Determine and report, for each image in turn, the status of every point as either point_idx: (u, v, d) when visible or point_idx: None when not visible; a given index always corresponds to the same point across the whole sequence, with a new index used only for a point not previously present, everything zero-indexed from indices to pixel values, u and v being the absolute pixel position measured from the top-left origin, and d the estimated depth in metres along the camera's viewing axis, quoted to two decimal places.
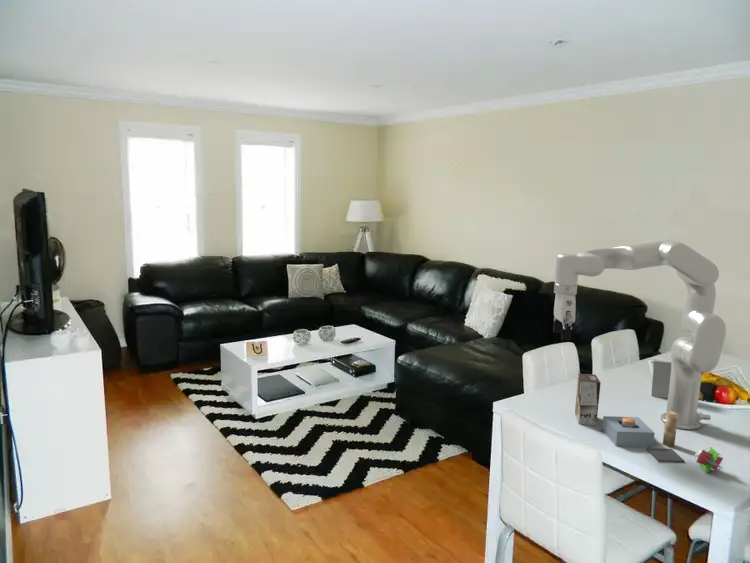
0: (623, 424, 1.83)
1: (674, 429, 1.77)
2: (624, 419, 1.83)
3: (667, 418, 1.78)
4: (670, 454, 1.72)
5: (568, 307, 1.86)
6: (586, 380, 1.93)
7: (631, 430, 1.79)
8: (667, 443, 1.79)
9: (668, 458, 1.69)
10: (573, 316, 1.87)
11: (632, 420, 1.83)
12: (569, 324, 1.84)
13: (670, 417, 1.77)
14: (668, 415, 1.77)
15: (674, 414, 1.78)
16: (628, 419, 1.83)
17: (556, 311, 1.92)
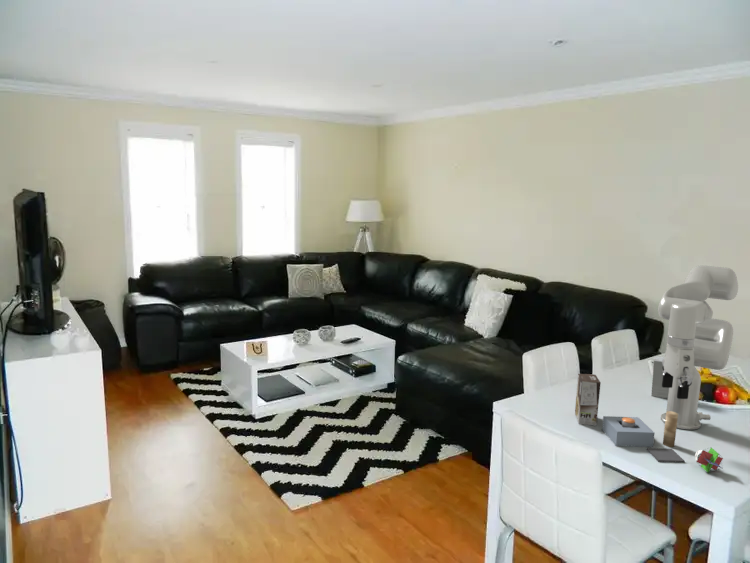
0: (623, 424, 1.83)
1: (674, 429, 1.77)
2: (624, 419, 1.83)
3: (667, 418, 1.78)
4: (670, 454, 1.72)
5: (686, 363, 1.70)
6: (586, 380, 1.93)
7: (631, 430, 1.79)
8: (667, 443, 1.79)
9: (668, 458, 1.69)
10: (691, 373, 1.70)
11: (632, 420, 1.83)
12: (688, 382, 1.68)
13: (670, 417, 1.77)
14: (668, 415, 1.77)
15: (674, 414, 1.78)
16: (628, 419, 1.83)
17: (669, 365, 1.76)
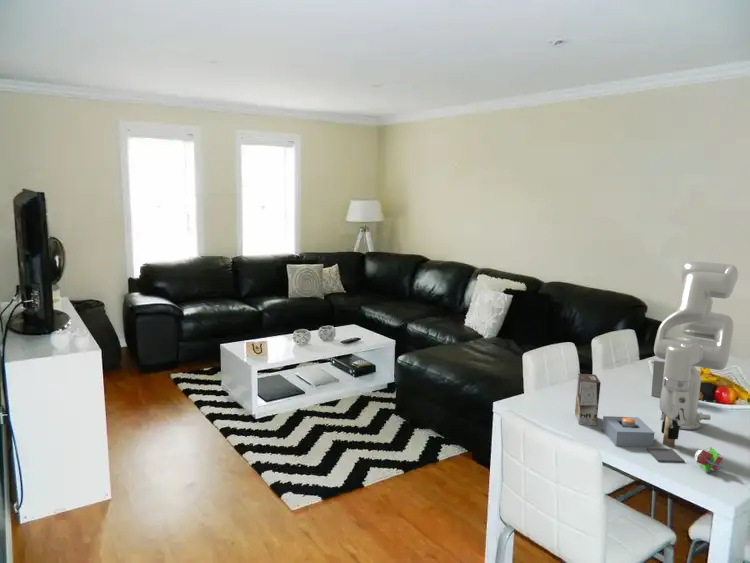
0: (623, 424, 1.83)
1: None
2: (624, 419, 1.83)
3: (667, 418, 1.78)
4: (670, 454, 1.72)
5: (681, 405, 1.72)
6: (586, 380, 1.93)
7: (631, 430, 1.79)
8: (667, 443, 1.79)
9: (668, 458, 1.69)
10: (686, 414, 1.73)
11: (632, 420, 1.83)
12: None
13: None
14: None
15: None
16: (628, 419, 1.83)
17: (664, 406, 1.78)
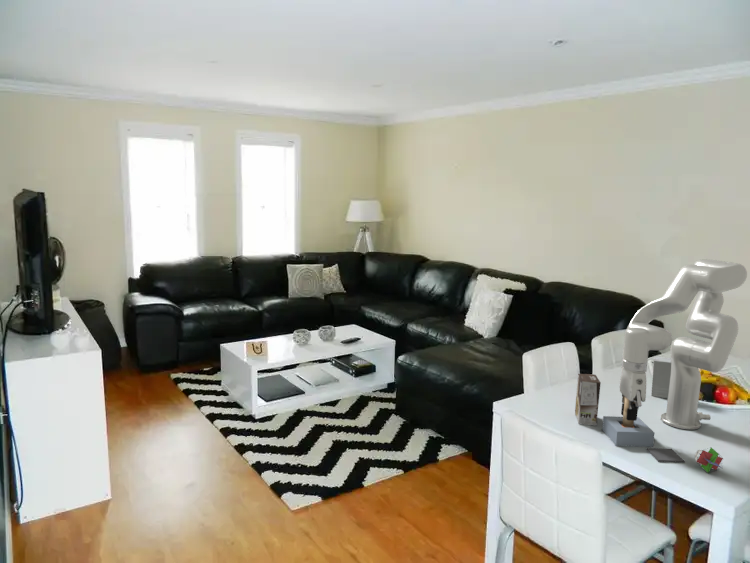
0: None
1: None
2: None
3: (626, 400, 1.81)
4: (670, 454, 1.72)
5: (639, 386, 1.76)
6: (586, 380, 1.93)
7: (631, 430, 1.79)
8: (626, 424, 1.82)
9: (668, 458, 1.69)
10: (644, 395, 1.76)
11: None
12: None
13: None
14: None
15: None
16: None
17: (623, 388, 1.82)
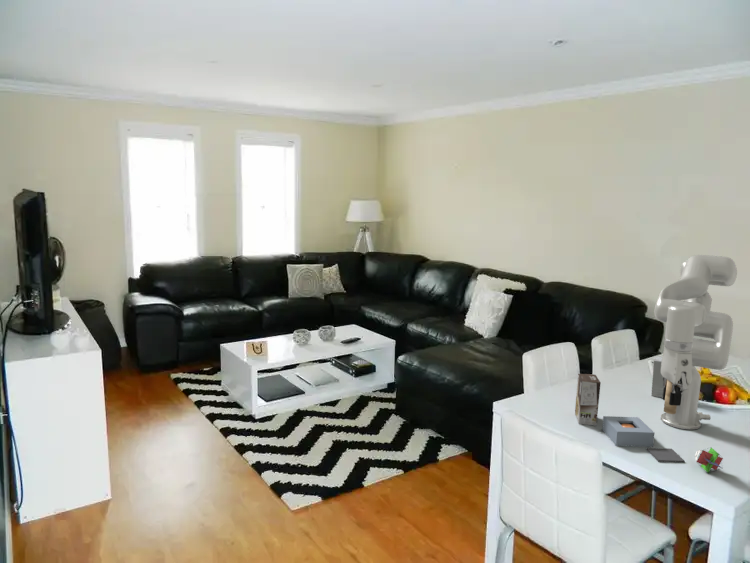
0: None
1: None
2: (623, 425, 1.84)
3: (668, 383, 1.68)
4: (670, 454, 1.72)
5: (684, 368, 1.62)
6: (586, 380, 1.93)
7: (631, 430, 1.79)
8: (668, 410, 1.68)
9: (668, 458, 1.69)
10: (689, 378, 1.62)
11: (631, 426, 1.83)
12: None
13: None
14: None
15: None
16: (628, 425, 1.84)
17: (666, 370, 1.68)
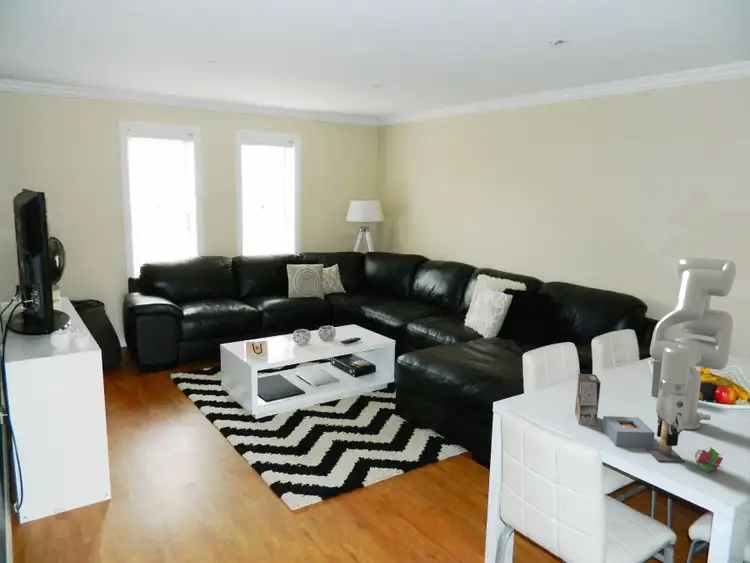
0: None
1: None
2: (623, 425, 1.84)
3: (663, 426, 1.70)
4: None
5: (679, 410, 1.64)
6: (586, 380, 1.93)
7: (631, 430, 1.79)
8: (663, 452, 1.71)
9: (668, 458, 1.69)
10: (684, 419, 1.65)
11: (631, 426, 1.83)
12: None
13: (667, 425, 1.69)
14: (664, 423, 1.70)
15: None
16: (628, 425, 1.84)
17: (661, 410, 1.70)
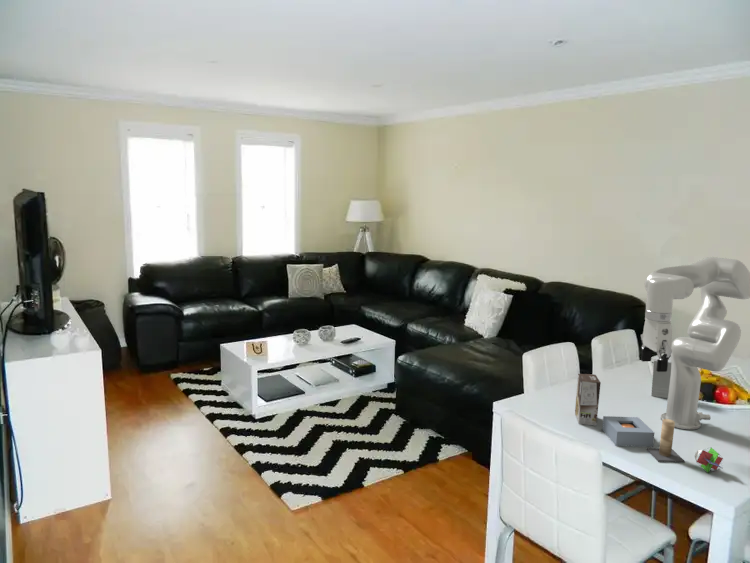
0: None
1: (670, 437, 1.70)
2: (623, 425, 1.84)
3: (663, 426, 1.70)
4: None
5: (665, 337, 1.73)
6: (586, 380, 1.93)
7: (631, 430, 1.79)
8: (663, 452, 1.71)
9: (668, 458, 1.69)
10: (670, 346, 1.73)
11: (631, 426, 1.83)
12: (667, 355, 1.71)
13: (667, 425, 1.69)
14: (664, 423, 1.70)
15: (671, 421, 1.70)
16: (628, 425, 1.84)
17: (648, 339, 1.78)
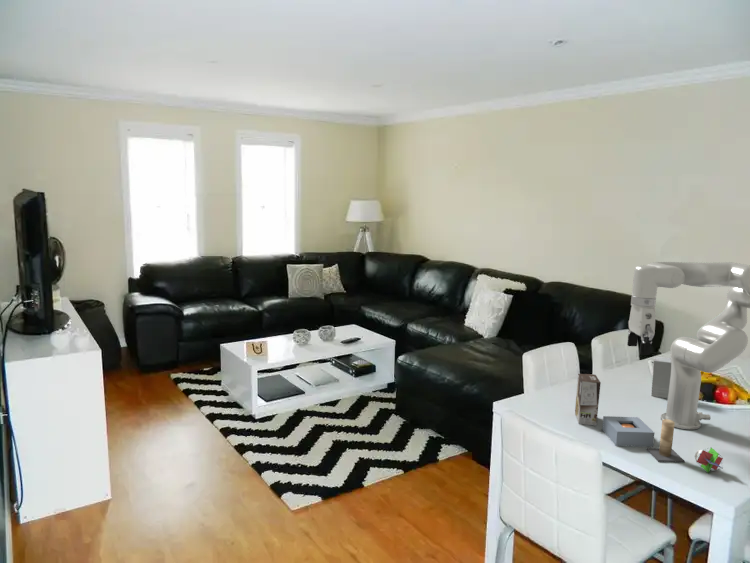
0: None
1: (670, 438, 1.69)
2: (623, 425, 1.84)
3: (663, 427, 1.70)
4: None
5: (648, 321, 1.81)
6: (586, 380, 1.93)
7: (631, 430, 1.79)
8: (663, 453, 1.71)
9: (668, 458, 1.69)
10: (653, 330, 1.82)
11: (631, 426, 1.83)
12: (650, 338, 1.79)
13: (667, 426, 1.69)
14: (664, 424, 1.69)
15: (670, 422, 1.70)
16: (628, 425, 1.84)
17: (633, 324, 1.87)
